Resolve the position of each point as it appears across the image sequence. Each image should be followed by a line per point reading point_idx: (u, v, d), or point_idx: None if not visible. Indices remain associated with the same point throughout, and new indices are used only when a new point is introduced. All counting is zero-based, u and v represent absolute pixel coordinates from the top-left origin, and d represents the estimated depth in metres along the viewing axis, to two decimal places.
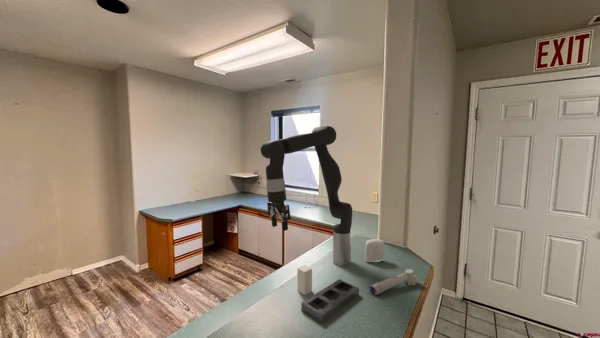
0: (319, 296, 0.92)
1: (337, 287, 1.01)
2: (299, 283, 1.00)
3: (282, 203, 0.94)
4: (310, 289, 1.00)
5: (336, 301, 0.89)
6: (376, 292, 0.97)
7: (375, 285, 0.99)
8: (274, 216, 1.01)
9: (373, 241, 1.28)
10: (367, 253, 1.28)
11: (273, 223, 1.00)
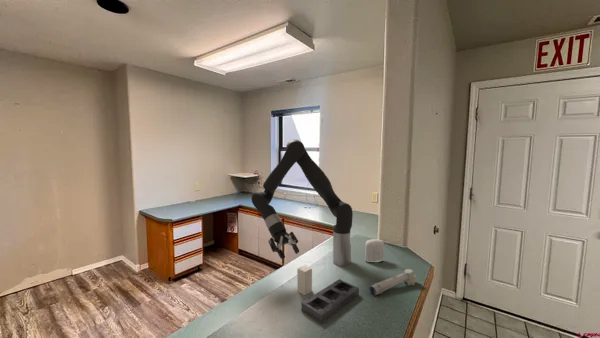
0: (319, 296, 0.92)
1: (337, 287, 1.01)
2: (299, 283, 1.00)
3: (274, 236, 1.09)
4: (310, 289, 1.00)
5: (336, 301, 0.89)
6: (376, 292, 0.97)
7: (375, 285, 0.99)
8: (293, 244, 1.11)
9: (373, 241, 1.28)
10: (367, 253, 1.28)
11: (295, 251, 1.10)
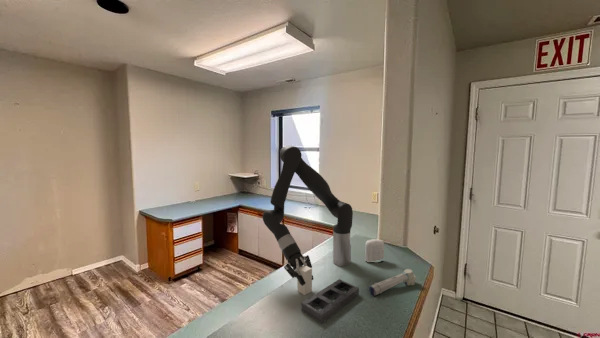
0: (319, 296, 0.92)
1: (337, 287, 1.01)
2: (299, 283, 1.00)
3: (288, 259, 1.02)
4: (310, 289, 1.00)
5: (336, 301, 0.89)
6: (375, 292, 0.97)
7: (374, 285, 0.99)
8: None
9: (373, 241, 1.28)
10: (367, 253, 1.28)
11: None
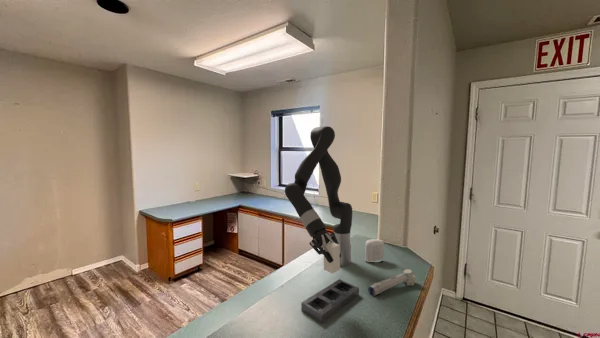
0: (319, 296, 0.92)
1: (337, 287, 1.01)
2: (326, 261, 0.92)
3: (313, 235, 0.94)
4: (338, 267, 0.92)
5: (336, 301, 0.89)
6: (375, 292, 0.97)
7: (374, 285, 0.99)
8: None
9: (373, 241, 1.28)
10: (367, 253, 1.28)
11: None
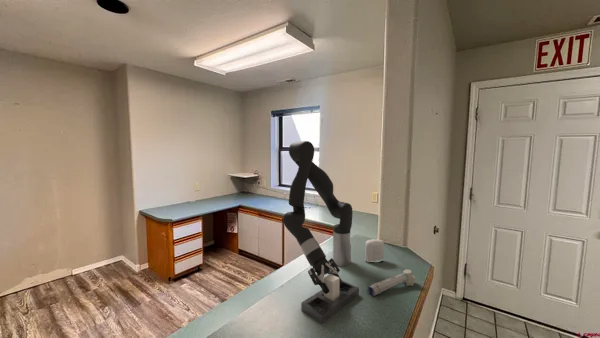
0: (319, 296, 0.92)
1: None
2: (326, 294, 0.92)
3: (313, 266, 0.94)
4: None
5: (336, 301, 0.89)
6: (374, 293, 0.96)
7: (373, 286, 0.98)
8: (335, 274, 0.97)
9: (373, 241, 1.28)
10: (367, 253, 1.28)
11: None
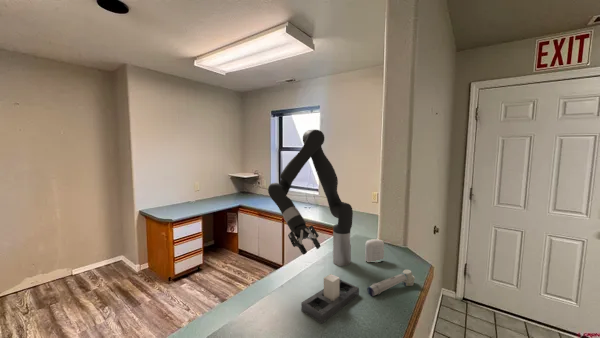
0: (319, 296, 0.92)
1: None
2: (326, 294, 0.92)
3: (293, 230, 1.02)
4: None
5: (336, 301, 0.89)
6: (374, 293, 0.96)
7: (373, 286, 0.98)
8: (313, 239, 1.05)
9: (373, 241, 1.28)
10: (367, 253, 1.28)
11: (315, 245, 1.04)
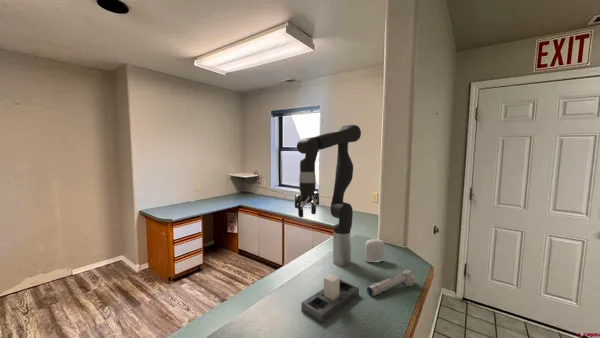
0: (319, 296, 0.92)
1: None
2: (326, 294, 0.92)
3: (302, 193, 1.08)
4: None
5: (336, 301, 0.89)
6: (374, 293, 0.96)
7: (372, 286, 0.98)
8: (313, 205, 1.13)
9: (373, 241, 1.28)
10: (367, 253, 1.28)
11: (312, 210, 1.14)
